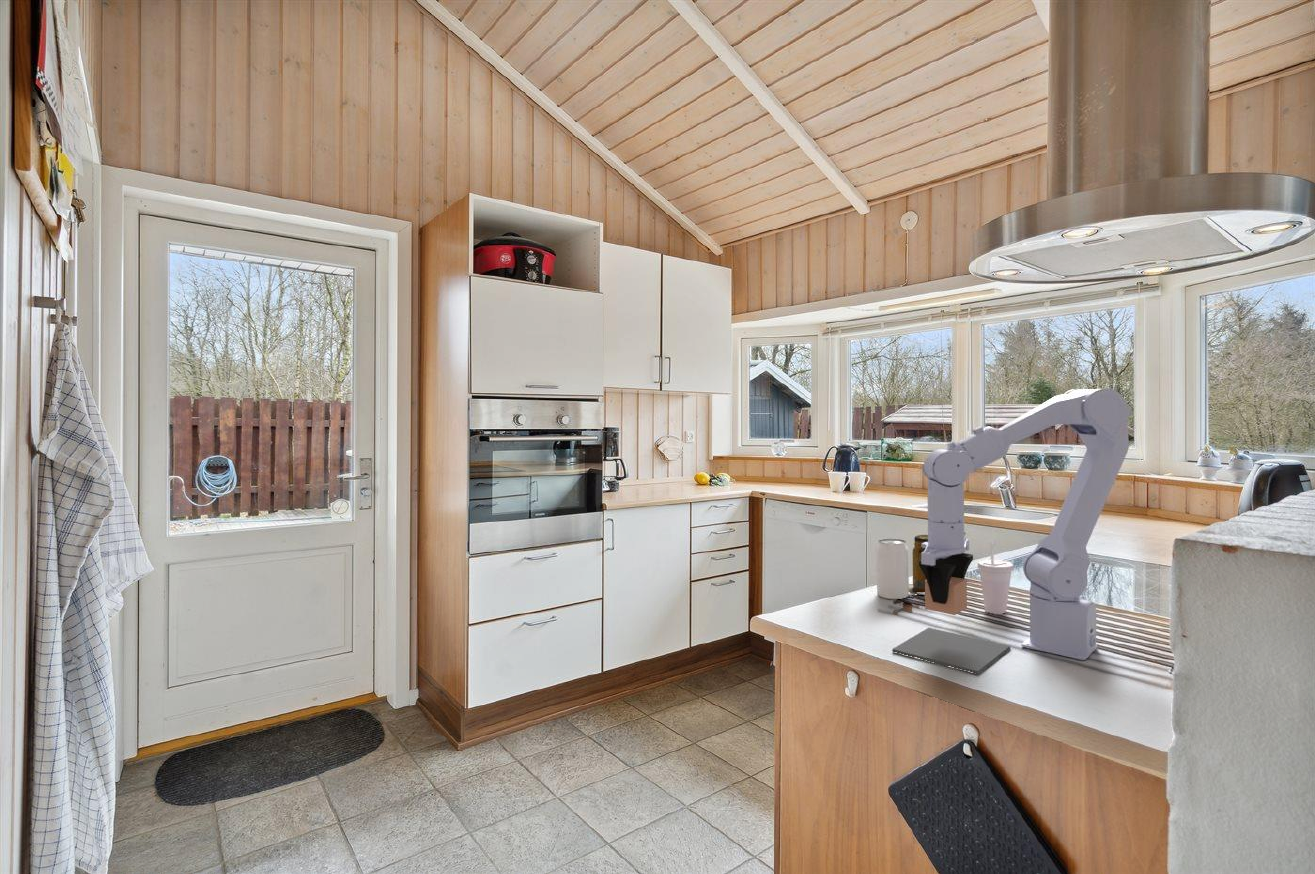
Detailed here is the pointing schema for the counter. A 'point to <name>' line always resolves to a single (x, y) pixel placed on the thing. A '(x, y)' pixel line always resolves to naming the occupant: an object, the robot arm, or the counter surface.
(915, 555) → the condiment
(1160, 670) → the counter surface
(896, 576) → the can
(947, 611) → the cube
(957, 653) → the mat
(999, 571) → the smoothie
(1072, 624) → the robot arm
